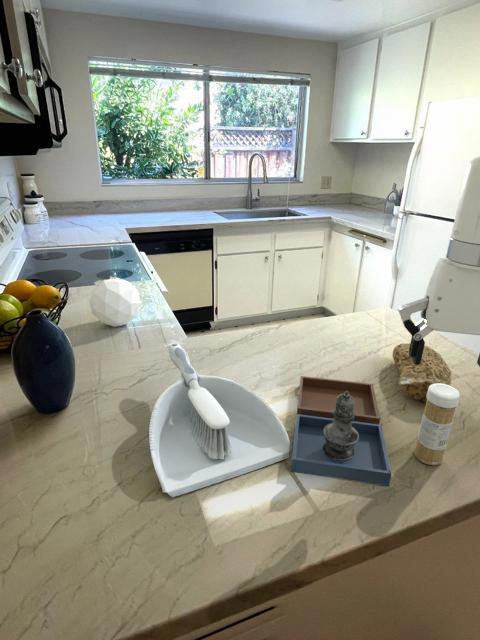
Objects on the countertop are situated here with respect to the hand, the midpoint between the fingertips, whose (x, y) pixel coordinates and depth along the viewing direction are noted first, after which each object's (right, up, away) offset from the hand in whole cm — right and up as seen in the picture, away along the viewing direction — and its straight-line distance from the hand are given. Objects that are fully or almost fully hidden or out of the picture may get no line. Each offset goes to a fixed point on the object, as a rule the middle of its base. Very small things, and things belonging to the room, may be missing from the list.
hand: (448, 364), depth 61 cm
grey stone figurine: (-15, -16, +8) cm, 23 cm away
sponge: (+8, -7, +30) cm, 32 cm away
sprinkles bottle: (0, -17, +7) cm, 18 cm away
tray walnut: (-12, -11, +21) cm, 26 cm away
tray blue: (-15, -16, +8) cm, 23 cm away
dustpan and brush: (-40, -12, +16) cm, 45 cm away
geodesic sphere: (-68, +6, +57) cm, 89 cm away
